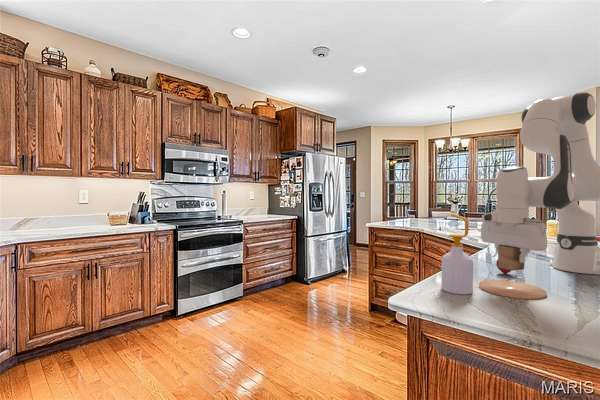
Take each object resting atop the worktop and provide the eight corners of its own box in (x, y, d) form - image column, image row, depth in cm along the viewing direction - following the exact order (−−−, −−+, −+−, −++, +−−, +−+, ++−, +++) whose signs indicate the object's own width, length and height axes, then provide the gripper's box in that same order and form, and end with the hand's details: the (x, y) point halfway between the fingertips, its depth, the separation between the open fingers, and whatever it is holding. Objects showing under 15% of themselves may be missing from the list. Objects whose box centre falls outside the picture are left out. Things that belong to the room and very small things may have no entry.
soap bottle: (444, 284, 108) (444, 212, 108) (474, 289, 103) (475, 213, 102) (438, 291, 101) (439, 214, 100) (470, 297, 95) (471, 215, 95)
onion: (517, 275, 120) (518, 254, 119) (502, 275, 120) (502, 254, 120) (507, 272, 125) (508, 251, 125) (493, 272, 126) (493, 251, 125)
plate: (506, 280, 113) (506, 277, 113) (561, 295, 96) (561, 292, 96) (466, 284, 108) (466, 282, 108) (517, 302, 91) (517, 298, 91)
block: (509, 266, 105) (509, 245, 105) (524, 269, 100) (524, 247, 100) (497, 267, 104) (498, 245, 103) (512, 270, 99) (512, 248, 99)
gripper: (553, 219, 93) (552, 266, 93) (491, 215, 112) (491, 254, 112) (537, 219, 91) (536, 268, 91) (477, 215, 110) (477, 255, 111)
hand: (511, 260), depth 102 cm, fingers closed on block, 5 cm apart
